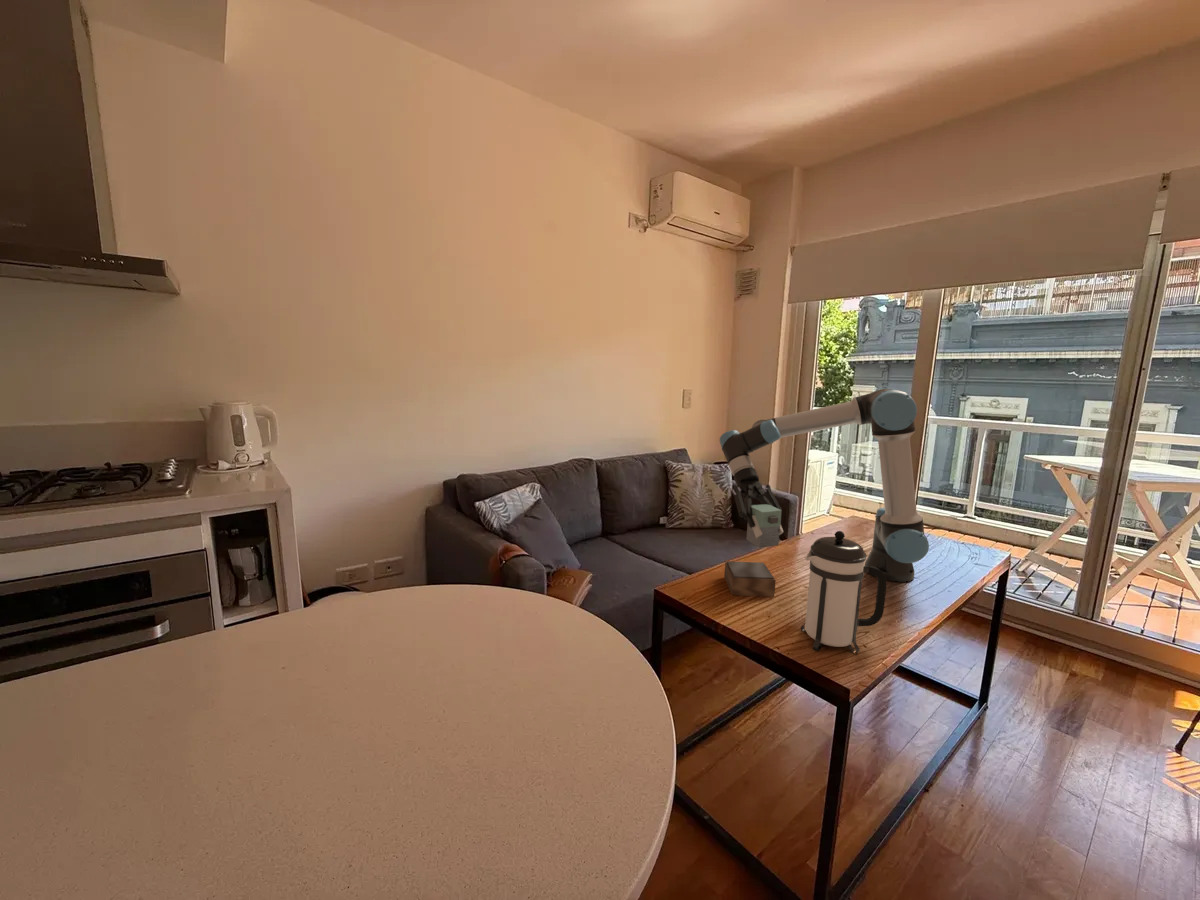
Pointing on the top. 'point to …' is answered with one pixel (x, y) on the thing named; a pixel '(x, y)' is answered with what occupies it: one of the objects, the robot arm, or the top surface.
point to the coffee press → (838, 592)
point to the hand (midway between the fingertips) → (770, 534)
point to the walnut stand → (749, 579)
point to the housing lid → (766, 515)
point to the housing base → (764, 536)
